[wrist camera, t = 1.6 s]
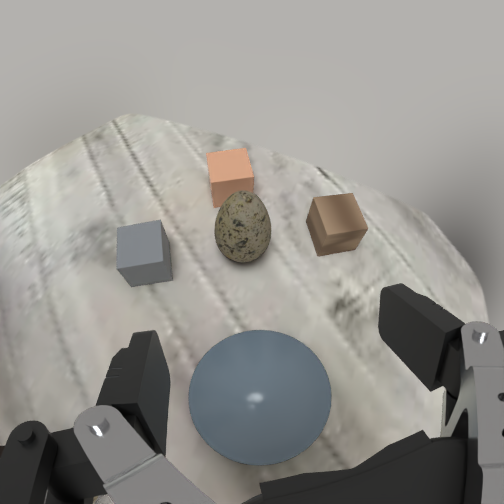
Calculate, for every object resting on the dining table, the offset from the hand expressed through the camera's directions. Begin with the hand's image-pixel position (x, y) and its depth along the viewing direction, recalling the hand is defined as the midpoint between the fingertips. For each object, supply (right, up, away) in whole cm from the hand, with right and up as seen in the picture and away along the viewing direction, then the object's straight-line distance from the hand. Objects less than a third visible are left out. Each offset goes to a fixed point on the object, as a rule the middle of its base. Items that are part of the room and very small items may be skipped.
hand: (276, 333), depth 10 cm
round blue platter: (0, -12, +19) cm, 22 cm away
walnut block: (+9, +5, +28) cm, 29 cm away
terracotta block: (-4, +11, +31) cm, 33 cm away
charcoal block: (-13, +1, +25) cm, 28 cm away
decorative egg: (-2, +3, +27) cm, 27 cm away
